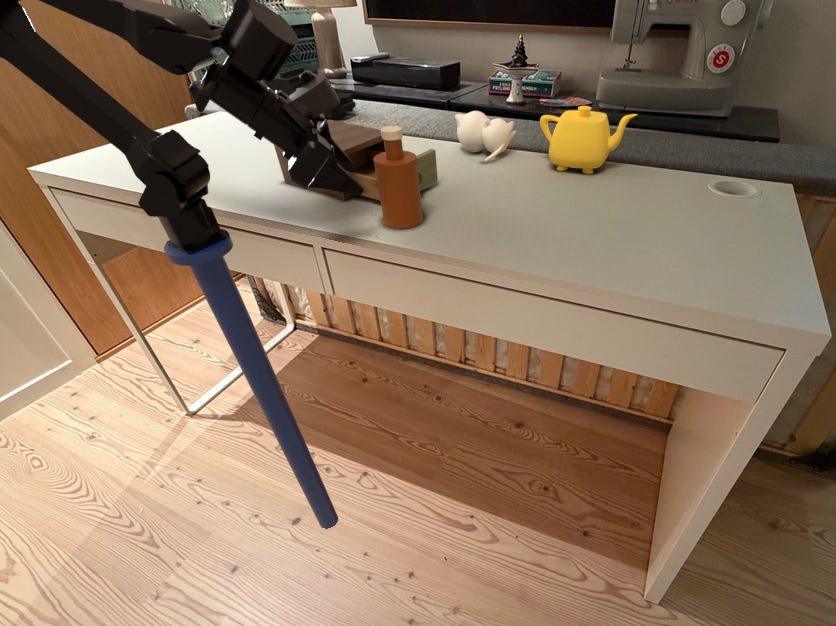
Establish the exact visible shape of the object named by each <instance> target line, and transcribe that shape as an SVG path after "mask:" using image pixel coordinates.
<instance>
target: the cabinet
mask: <svg viewBox="0 0 836 626" xmlns="http://www.w3.org/2000/svg"><path fill="white" fill-rule="evenodd" d="M327 121H328V126H329V131H330V135H331V137H332V138H333V140H334V141H335V142H336V143H337V144H338V146H339V147H340V148H341V149H342V150H343V151H344V152H345V154H346V155H349V154H352V153H354V152H357V151H359V150H362V149H364V148H369V149H374V150H378V151H383V152H385V146H384V139H382V135H381V129H378V128H372V127H368V126H363V125H358V124H353V123H348V122H342V121H339V120H335V119H334V120H333V119H327ZM323 122H324V121H323ZM323 122H321V121H320V122H318V125H319V126H321V125H322V123H323ZM273 146H274V150H275V153H276V157H277V161H278V163H279V168H280V170H281V173H282V176H283V180H284V183H285V184H287V185H290V186H295V187H298V188H301V189H303V188H302V187H301V186H299V185H298V184H296V183H295V182H293V181H292V180H291V176H290V173H289V160H288V159H287V158H285V157H284V156H283V151H282V150H281V149H279V148H278V147H276V146H275V145H273ZM305 190H308V191H311V192H315V193H319V194H321V195H324V196H328V197H332V198H335V199H337V200H342V201H347V200H349V199H352V198H353V197H355V196H356V195H354V194H349V193H344V192H339V191H333V190H327V189H320V188H312V189H311V188H308V187H307V188H306V189H305Z"/></svg>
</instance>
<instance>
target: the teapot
mask: <svg viewBox="0 0 836 626" xmlns="http://www.w3.org/2000/svg"><path fill="white" fill-rule="evenodd" d="M636 116H638V113H631V114H626V115H624V116H622V118H621V119H620V121H619V123H618V125H617V128H616V131H615V132H614V134H612V135H611V129H610V122H609V118H608V115H607V113H605V112H600V111H592V107H591V106H589V105H579V106H578V107H577V110H576V109H570V110H569V109H568V110H566V111H564V112H563V113H562V114H561V115H560V116H556V115H552V114H543V115H541V117H540V118H539V123H540V128H541V130H542V132H543V134H544V136H545V137H546V139H547V140H548V142H549V147H548V156H549V159H550V161H551V163H552V164H554V165H556V166H557V167H556V170H557V171H560V172H565V171H568V169H569V168H572V169H573V168H574V169H582V173H583V174H587V175H591V174H594V169H598V168H601V166H603V164H604V163H605V161H606V160H607V159H608V156H609V155H610V153H611V152H613V151H615V149H617V147H618V146H619V145H620V143H621V142H622V139H623V136H624V133H625V131H626V130H625V129H626V127H627V125H628V124H629V122H630V120H632V119H633V118H634V117H636ZM549 122H555V123H556V125H555V128H554V130H553V132H552V133H551V131H550V126H549Z"/></svg>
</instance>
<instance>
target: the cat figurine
mask: <svg viewBox="0 0 836 626" xmlns="http://www.w3.org/2000/svg"><path fill="white" fill-rule="evenodd" d="M454 119H455V121H456V124H457V129H456V134H457V139H458V141H459V143H460V145H461V146H462V147H463V148H464V149H465V150H467V151H468V152H470V153H479V152H480V151H483V150H484V149H486V150H487V151H488V152H490V153H491V154H489V155H488V156H487V157H486V158H485V159H484V160H483V163H485V164H486V163H488V162H490V161H492V160H493V159H495V158H496V157H497V156H498V155H499V154H502V153H503V152H505V150H506V149H507V148H508V147H509V144H510V143H511V140H512V139H513V138H514V137H515V136H516V134H517V130H513V129H514V126H515V121H514V120H512V121H510V122H506V121H505V120H504V118H500V117H496V118H492V119H490V118H488V116H487V115H486V114H485V113H484V112H482V111H480V110H472V111H470V112H467V113H457V114H455V115H454Z"/></svg>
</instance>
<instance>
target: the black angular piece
mask: <svg viewBox="0 0 836 626" xmlns="http://www.w3.org/2000/svg"><path fill="white" fill-rule="evenodd" d="M305 71H306V70H305V68H304V66H298V67H295V68H292V69H288V70H285V71H280V72H279V73H278V75H277V77H276V78H275V80H274V81H266V80H264V81H262V82H263V83H264V84H265V85H267V86H268V87H269V88H270V89H272V90H273V91H274V92H276V90H278V91H280V90H282V91H283V92H284V93H285V94H287V95H288V96H290V95H291V94H293V93H294V92H295V91H297V88H301V82H300V76H299V75H300V74H302V73H303V72H305ZM311 72H312V73H314V74H315V72H314V71H311ZM336 94H337V95H338V98H339V100H340V103H339V104H338V105H337V106H336V107H335V108H333V109H328V110H327V111H325V112H324V113H323V114H324V118H325V119H327V118H328V119H333V118H336V117H343V116H344V114H345V113H347V112H349V113H351V112H352V113H353V111H354V109H355V108H356V107H357V106H356V105H357V104H356V101H354V97H353V94H352V93H343V92H336ZM325 119H324V120H325ZM324 120H323V122H324Z"/></svg>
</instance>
